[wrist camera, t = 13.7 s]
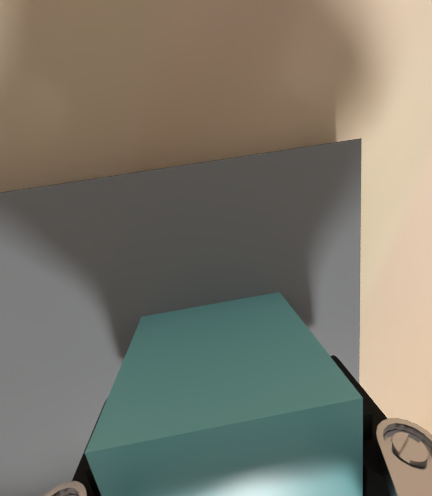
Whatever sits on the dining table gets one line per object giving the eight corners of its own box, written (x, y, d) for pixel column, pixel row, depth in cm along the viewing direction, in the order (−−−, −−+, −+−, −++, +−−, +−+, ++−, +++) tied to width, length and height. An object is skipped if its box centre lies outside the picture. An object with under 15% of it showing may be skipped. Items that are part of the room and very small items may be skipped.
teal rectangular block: (141, 316, 9) (84, 453, 5) (279, 292, 10) (363, 398, 5) (170, 425, 11) (149, 616, 6) (290, 401, 11) (362, 567, 6)
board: (25, 502, 13) (-88, 711, 8) (-124, 214, 9) (-561, 256, 4) (341, 440, 14) (429, 594, 9) (337, 145, 10) (500, 100, 5)
